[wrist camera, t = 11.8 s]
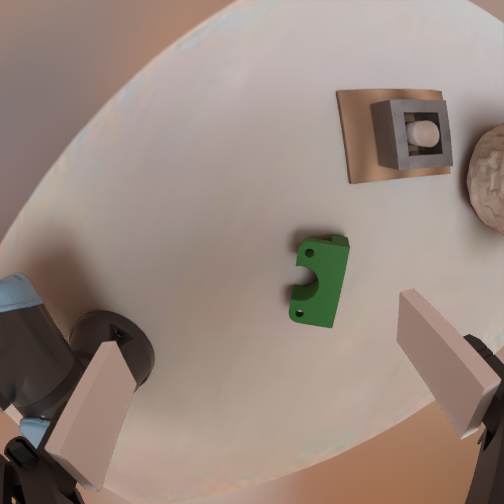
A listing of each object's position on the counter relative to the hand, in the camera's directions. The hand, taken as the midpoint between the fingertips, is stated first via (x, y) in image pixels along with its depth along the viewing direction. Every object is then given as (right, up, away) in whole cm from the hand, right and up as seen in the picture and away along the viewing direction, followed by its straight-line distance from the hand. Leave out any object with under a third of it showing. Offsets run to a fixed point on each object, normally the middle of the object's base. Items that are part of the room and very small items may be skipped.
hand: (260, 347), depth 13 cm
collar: (+19, +19, +21) cm, 35 cm away
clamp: (+8, +2, +29) cm, 31 cm away
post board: (+19, +20, +22) cm, 35 cm away
